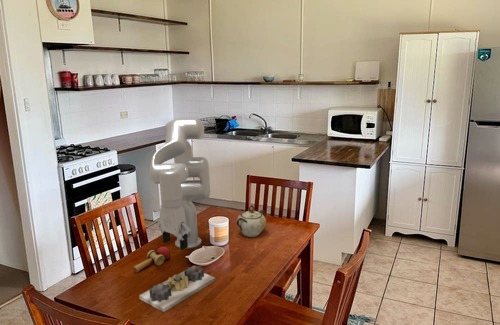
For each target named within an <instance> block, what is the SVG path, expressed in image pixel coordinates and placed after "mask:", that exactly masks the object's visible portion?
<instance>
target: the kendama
mask: <svg viewBox="0 0 500 325" xmlns="http://www.w3.org/2000/svg"><path fill="white" fill-rule="evenodd" d="M170 254H171V252H170V249H169V248H168V247H166V246H160V247H159V248H158V249H156V250H154V249H151V250H149V251H148V252H147V254H146V258H147V259H145V260H144V261H142V262H140V263H138V264H136V265H134V266H133V267H132V269H133V272H134V273H136V274H137V273H139V272H140V271H141V270H143V269H144V268H146V267H148V266H149V265H150V264H151V263H153V261H154V265H156V266H161V265H163V264H164V262H165V260H167V259H169V258H170Z"/></svg>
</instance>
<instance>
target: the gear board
mask: <svg viewBox="0 0 500 325" xmlns="http://www.w3.org/2000/svg"><path fill="white" fill-rule="evenodd" d="M181 274H183V276H187V277H188V287H187V288H184V289H183V291H180V290H176V291H173V290H172V289H171V287H169V284H168V281H169V280H168V279H166V280H165V281H163V282H161V283H158V284H157V285H156V284H154V285H152V287H151V288H149V289H148V290H146V291H145V292H143V293H141V294H139V295H138V296H139V298H138V299H139V300H141V301H142V302H145V303H146V304H148V305H150V306H152V307H153V308H155V309H157V310H159V311H160V312H163V313H165V312H167V311H168V310H170V309H172V308H174V306H177V305H178V304H180V303H181V302H183V301H185V300H186V299H188V298H189V297H191V296H193V295H195V294H196V293H198V292H200V291H201V290H203V289H204V288H206V287H209V285H211V284H212V283H214V282H215V281H216V277H214V276H212V275H210V274H207V273H205V270H204V268H203V267H202V265H201V266H198V265H197V266H196V265H192V266H191V267H189V266H188V267H186V269H184V271H182V272H180V273H178V274H174V275H175V280H176V281H180V275H181Z"/></svg>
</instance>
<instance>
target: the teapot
mask: <svg viewBox="0 0 500 325" xmlns="http://www.w3.org/2000/svg"><path fill="white" fill-rule="evenodd" d="M251 208H252V209H251ZM265 215H266V211H265V210H264V209H261V210H259V211H256V210H255V207H254V205H250V206H249V207H248V210H247V211H243V212H241V213H240V214H239V215H238V217H236V225H237V228H238V229H239V231H240V232H241V233H242V235H244V237H249V238H254V237H258V236H259V235H260V234H261V232H263V230H264V229H265V228H266V225H267V220H266V218H265Z"/></svg>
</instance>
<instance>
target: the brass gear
mask: <svg viewBox="0 0 500 325" xmlns="http://www.w3.org/2000/svg"><path fill="white" fill-rule="evenodd" d="M175 275H176V274H173V276H172V277H170V276H169V277H168V279H167V280H169V281H168V284H169V287H171V289H172V290H173V291H176V290H180V291H183V289H184V288H187V287H188V277H187V276H183V274H181V275H180V281H176V280H175Z"/></svg>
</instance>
